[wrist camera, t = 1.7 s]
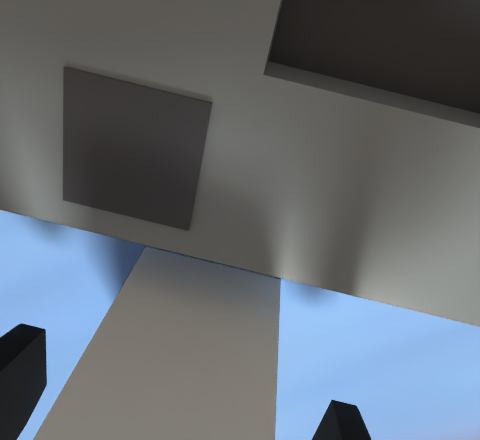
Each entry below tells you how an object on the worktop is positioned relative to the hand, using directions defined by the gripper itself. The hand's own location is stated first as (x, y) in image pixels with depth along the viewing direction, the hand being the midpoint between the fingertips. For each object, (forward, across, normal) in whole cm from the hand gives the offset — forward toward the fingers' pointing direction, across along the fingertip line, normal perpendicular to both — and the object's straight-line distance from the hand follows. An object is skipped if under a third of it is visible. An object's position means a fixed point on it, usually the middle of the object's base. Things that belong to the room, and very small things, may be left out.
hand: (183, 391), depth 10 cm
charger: (+3, 0, 0) cm, 3 cm away
